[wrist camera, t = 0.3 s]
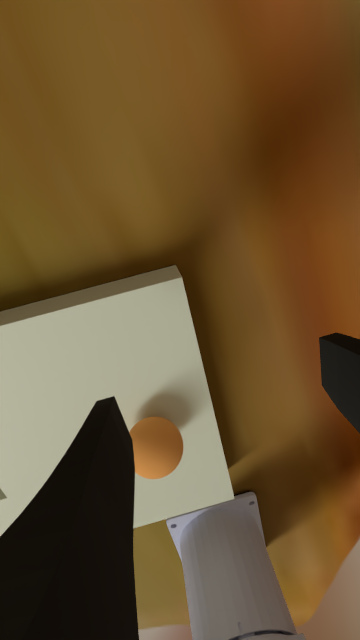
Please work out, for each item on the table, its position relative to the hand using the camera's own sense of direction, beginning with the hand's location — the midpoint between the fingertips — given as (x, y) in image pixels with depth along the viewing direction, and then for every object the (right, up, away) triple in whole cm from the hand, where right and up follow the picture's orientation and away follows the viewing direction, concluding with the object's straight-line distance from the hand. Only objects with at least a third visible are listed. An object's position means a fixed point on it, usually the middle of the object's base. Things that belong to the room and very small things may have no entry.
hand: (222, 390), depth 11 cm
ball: (-3, -5, +8) cm, 10 cm away
